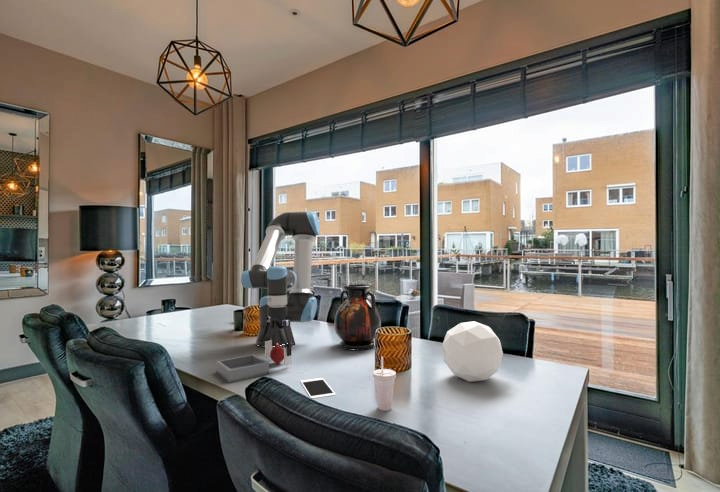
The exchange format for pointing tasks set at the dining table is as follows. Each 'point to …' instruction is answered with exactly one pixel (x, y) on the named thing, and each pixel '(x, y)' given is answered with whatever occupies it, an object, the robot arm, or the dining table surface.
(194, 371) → the dining table surface
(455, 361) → the geometric orb
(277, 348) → the onion
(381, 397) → the smoothie
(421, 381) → the dining table surface
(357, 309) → the amphora vase
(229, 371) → the box
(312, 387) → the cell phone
